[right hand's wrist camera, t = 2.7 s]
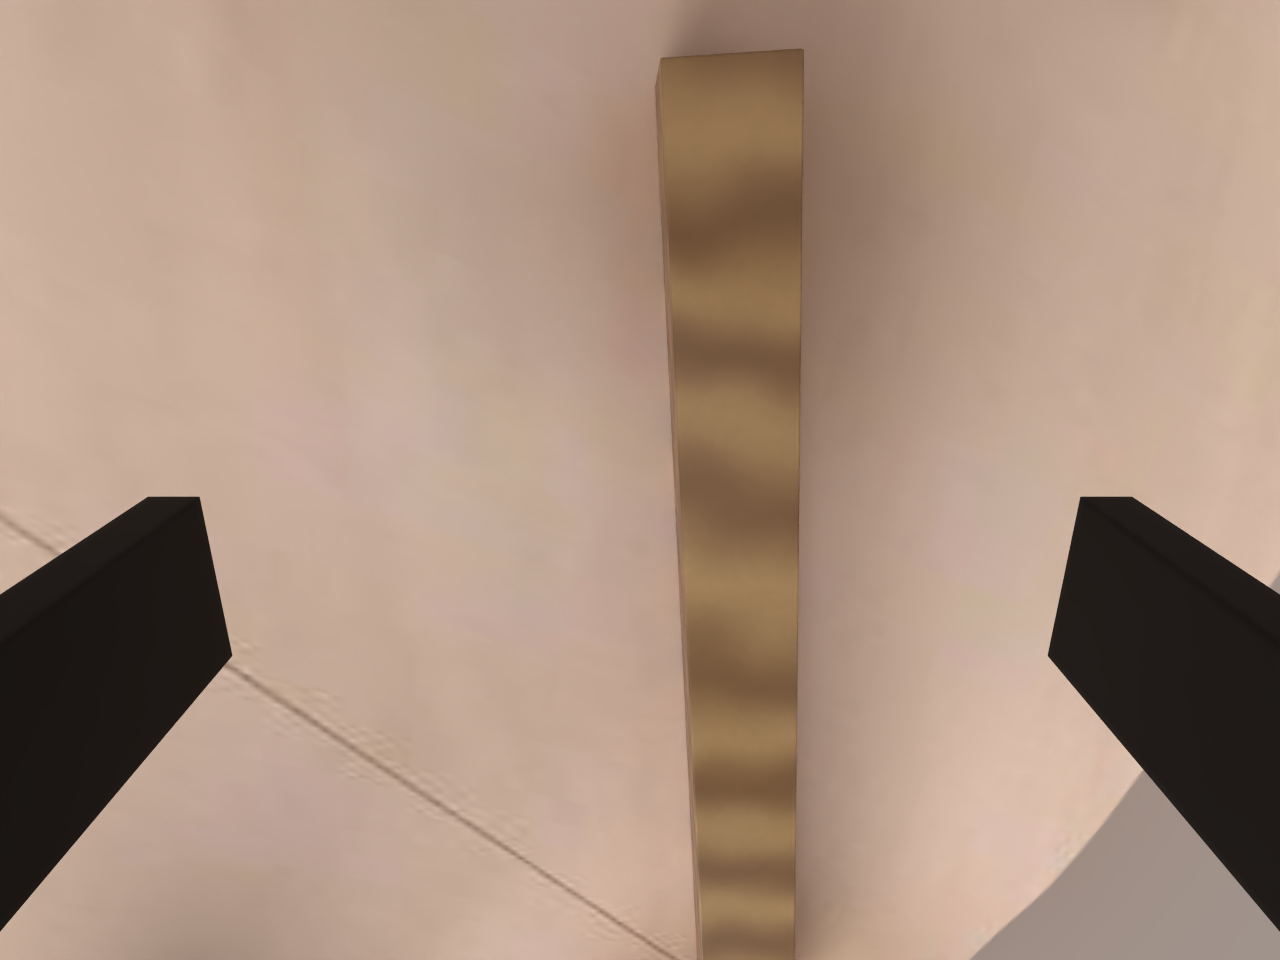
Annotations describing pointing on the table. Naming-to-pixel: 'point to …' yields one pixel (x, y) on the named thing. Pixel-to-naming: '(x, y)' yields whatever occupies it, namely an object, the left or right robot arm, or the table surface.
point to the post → (736, 474)
